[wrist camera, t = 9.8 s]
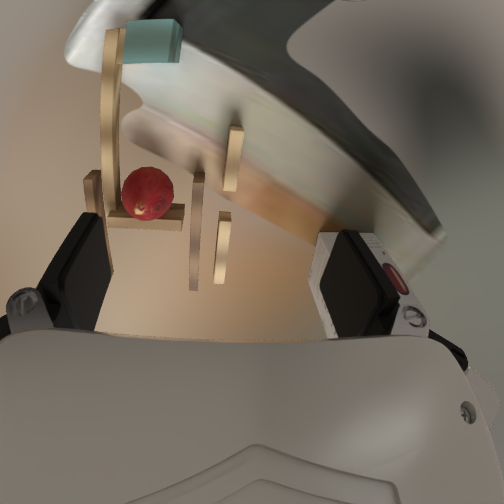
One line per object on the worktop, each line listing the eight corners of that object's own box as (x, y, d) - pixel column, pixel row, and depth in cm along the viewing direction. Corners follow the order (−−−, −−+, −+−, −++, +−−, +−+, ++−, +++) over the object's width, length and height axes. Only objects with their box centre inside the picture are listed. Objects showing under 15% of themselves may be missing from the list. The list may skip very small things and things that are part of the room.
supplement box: (375, 231, 41) (432, 314, 28) (359, 278, 46) (400, 360, 33) (316, 231, 40) (362, 325, 26) (305, 280, 45) (336, 373, 32)
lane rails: (92, 169, 30) (83, 179, 28) (205, 173, 33) (204, 183, 31) (106, 270, 40) (101, 284, 37) (198, 276, 42) (197, 290, 40)
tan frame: (113, 31, 21) (88, 26, 15) (201, 29, 23) (197, 19, 17) (112, 210, 34) (94, 241, 28) (184, 213, 36) (178, 246, 30)
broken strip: (229, 125, 30) (230, 130, 28) (242, 126, 30) (244, 131, 28) (213, 272, 42) (213, 283, 40) (223, 272, 42) (223, 283, 40)
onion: (184, 167, 32) (176, 196, 26) (167, 208, 35) (158, 244, 29) (138, 151, 30) (118, 176, 24) (125, 193, 33) (106, 227, 27)
